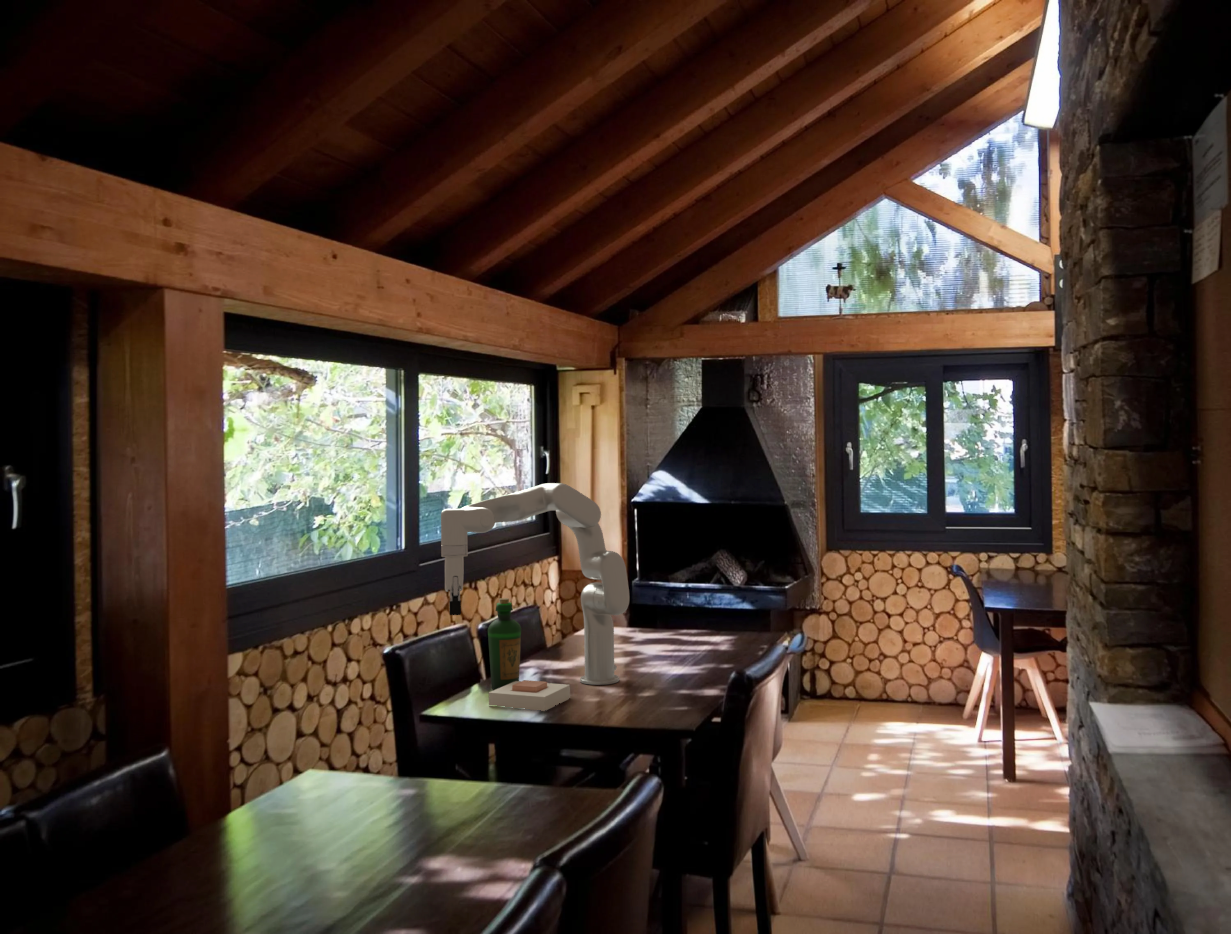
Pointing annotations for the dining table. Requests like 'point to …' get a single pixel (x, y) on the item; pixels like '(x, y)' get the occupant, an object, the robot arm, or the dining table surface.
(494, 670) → the bottle
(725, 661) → the dining table surface
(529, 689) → the button
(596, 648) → the robot arm
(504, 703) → the panel
